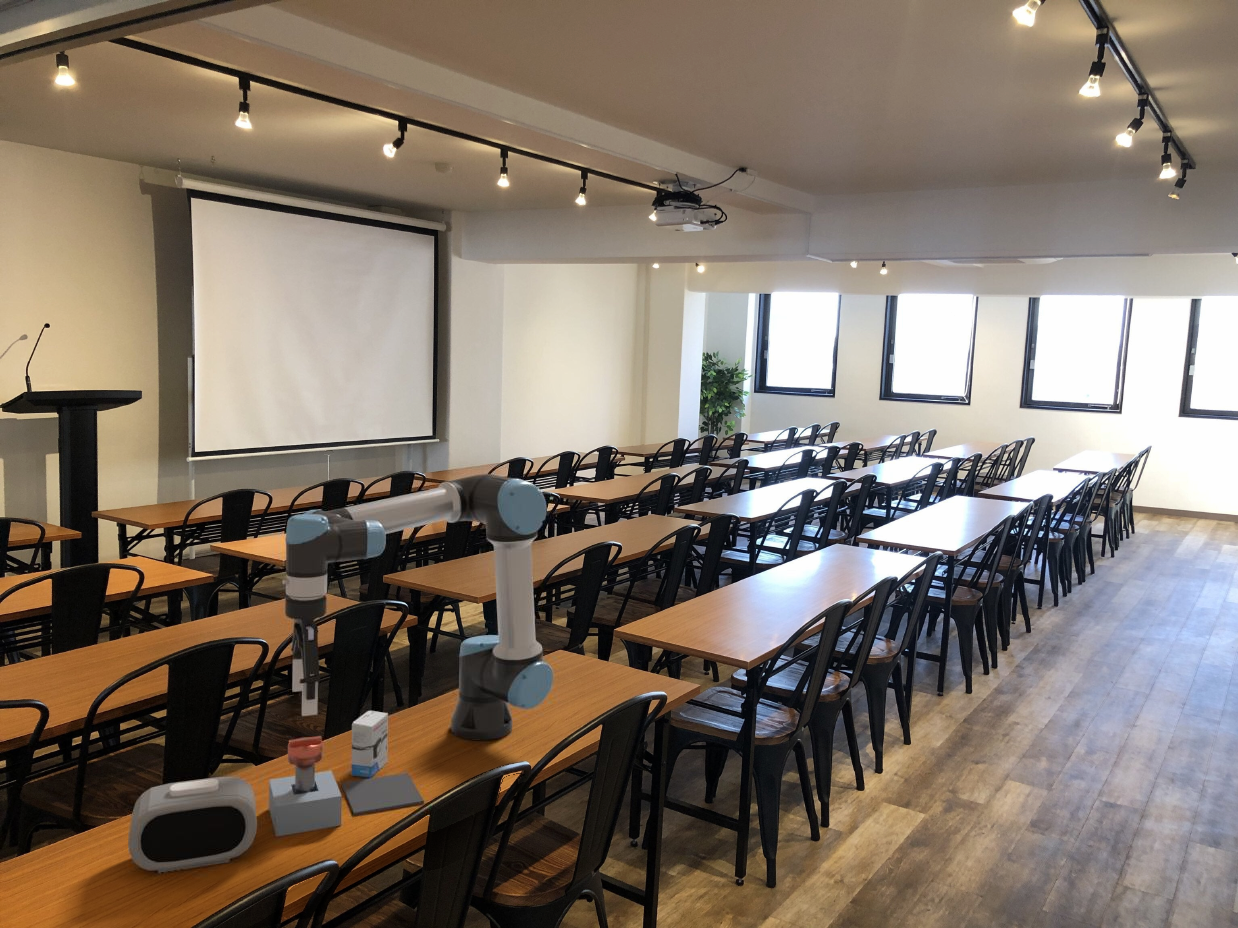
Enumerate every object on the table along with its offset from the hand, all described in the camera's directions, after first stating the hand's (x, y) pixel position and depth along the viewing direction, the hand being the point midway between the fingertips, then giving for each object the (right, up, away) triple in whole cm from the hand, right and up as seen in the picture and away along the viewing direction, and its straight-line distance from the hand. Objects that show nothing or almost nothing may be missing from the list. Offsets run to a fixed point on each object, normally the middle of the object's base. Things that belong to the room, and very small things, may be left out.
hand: (304, 702), depth 181 cm
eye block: (-1, -23, +3) cm, 24 cm away
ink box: (+6, -21, +25) cm, 33 cm away
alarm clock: (-15, -25, -13) cm, 32 cm away
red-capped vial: (-1, -23, +3) cm, 24 cm away
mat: (+12, -23, +13) cm, 29 cm away
